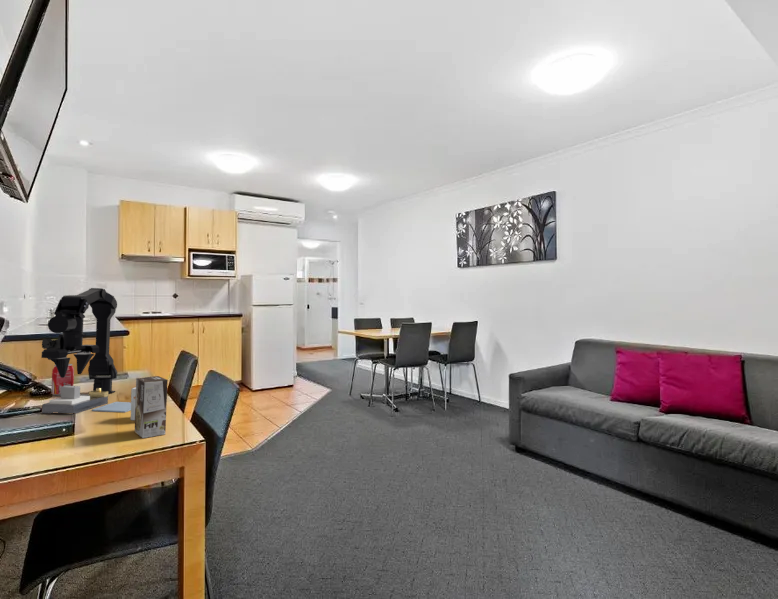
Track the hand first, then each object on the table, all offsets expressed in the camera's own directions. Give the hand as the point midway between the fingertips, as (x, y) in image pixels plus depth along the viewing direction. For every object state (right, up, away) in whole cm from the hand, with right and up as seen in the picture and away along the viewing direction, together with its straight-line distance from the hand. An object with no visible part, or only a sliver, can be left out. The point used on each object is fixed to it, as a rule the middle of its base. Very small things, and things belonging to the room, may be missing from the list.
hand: (71, 375), depth 146 cm
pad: (+14, -13, +5) cm, 19 cm away
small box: (+31, -13, -8) cm, 35 cm away
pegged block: (+4, -9, +8) cm, 13 cm away
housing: (0, -12, +3) cm, 12 cm away
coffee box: (+41, -13, -22) cm, 48 cm away
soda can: (-21, -12, +23) cm, 33 cm away
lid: (0, -9, 0) cm, 9 cm away
